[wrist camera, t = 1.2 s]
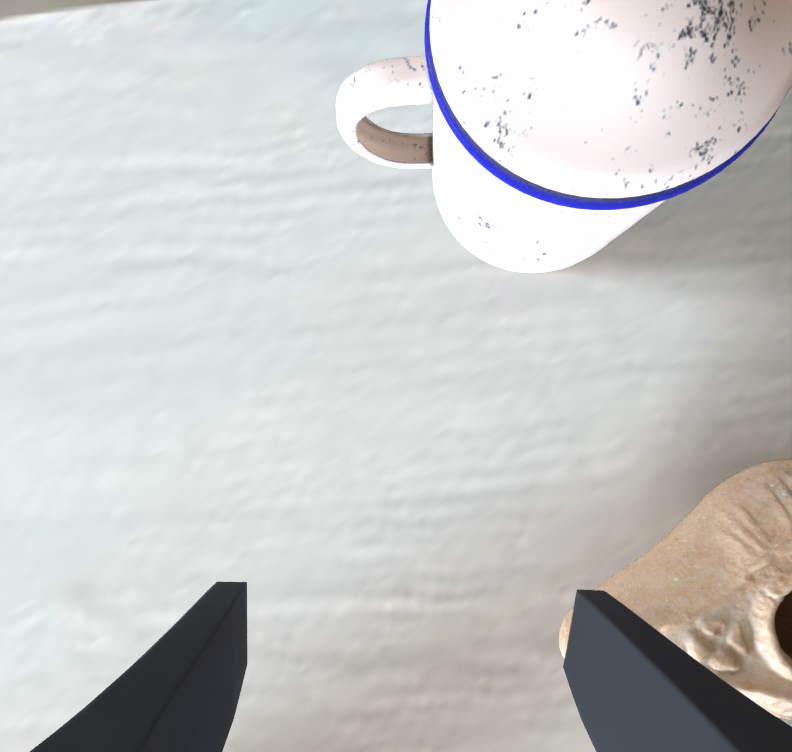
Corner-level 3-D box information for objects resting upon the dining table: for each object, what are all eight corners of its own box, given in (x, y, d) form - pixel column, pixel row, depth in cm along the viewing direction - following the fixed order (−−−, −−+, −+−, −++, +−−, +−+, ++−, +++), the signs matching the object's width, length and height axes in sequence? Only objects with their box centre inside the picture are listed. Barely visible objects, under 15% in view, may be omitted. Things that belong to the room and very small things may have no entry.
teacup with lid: (638, 62, 19) (949, -408, 8) (644, 276, 19) (966, 124, 8) (358, 84, 20) (263, -309, 9) (364, 287, 20) (275, 168, 9)
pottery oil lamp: (510, 524, 19) (615, 495, 13) (727, 473, 23) (895, 430, 16) (587, 778, 16) (776, 904, 10) (827, 677, 19) (1085, 722, 13)
